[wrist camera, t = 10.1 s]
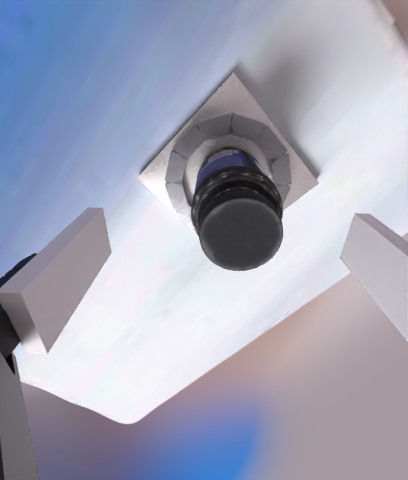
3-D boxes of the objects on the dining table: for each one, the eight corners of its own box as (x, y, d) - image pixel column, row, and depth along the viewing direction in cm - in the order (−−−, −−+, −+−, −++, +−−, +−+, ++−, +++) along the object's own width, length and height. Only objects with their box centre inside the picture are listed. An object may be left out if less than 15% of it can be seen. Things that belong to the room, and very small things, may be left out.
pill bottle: (190, 202, 25) (174, 267, 15) (207, 138, 22) (201, 168, 12) (249, 218, 26) (270, 291, 16) (273, 158, 23) (317, 202, 13)
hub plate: (139, 175, 25) (133, 181, 23) (232, 72, 20) (234, 70, 19) (222, 253, 29) (222, 263, 27) (316, 180, 24) (323, 186, 22)
